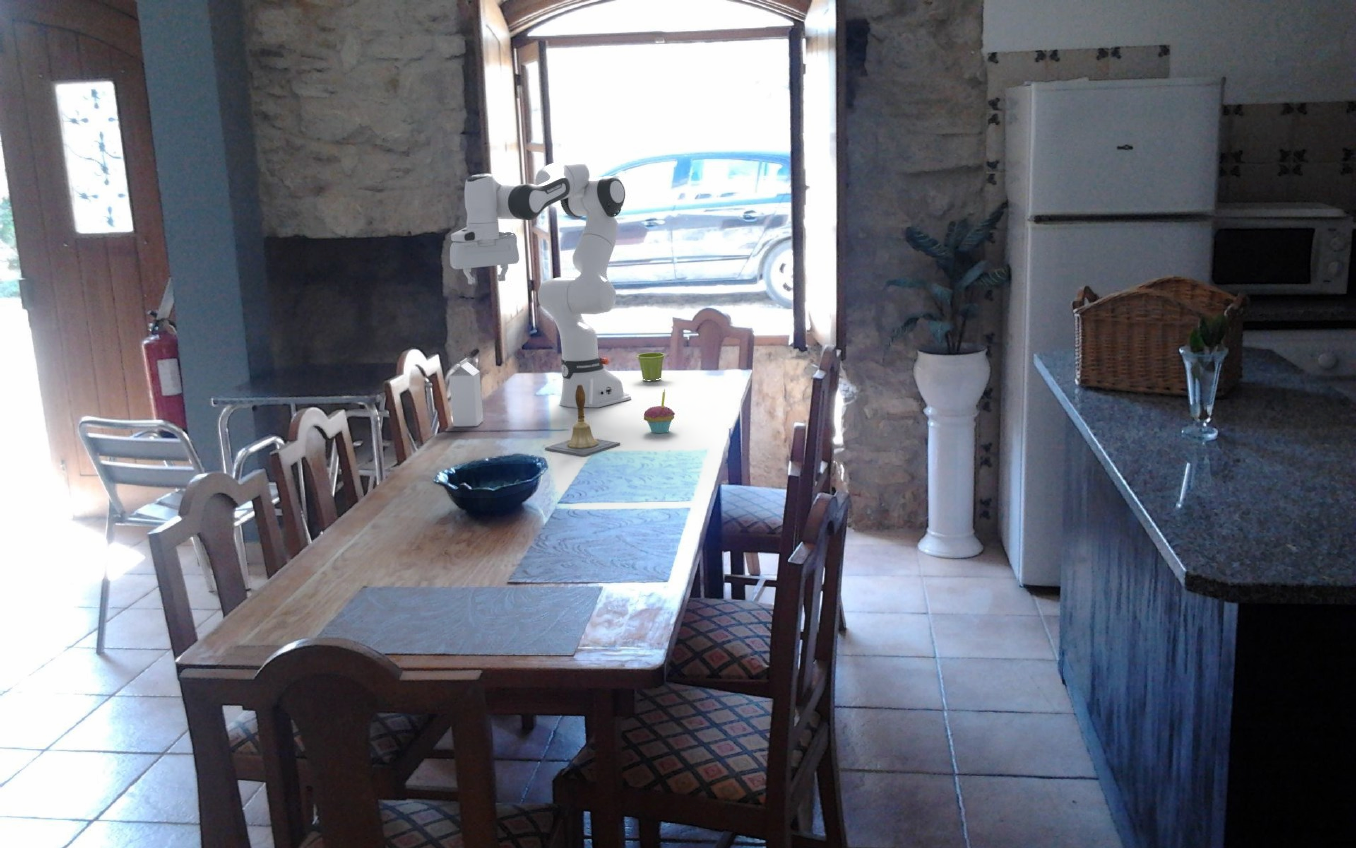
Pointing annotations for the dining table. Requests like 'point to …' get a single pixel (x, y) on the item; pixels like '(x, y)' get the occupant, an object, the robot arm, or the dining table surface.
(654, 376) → the plant pot
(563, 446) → the plate
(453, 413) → the milk carton
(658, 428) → the cupcake
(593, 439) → the hand bell
